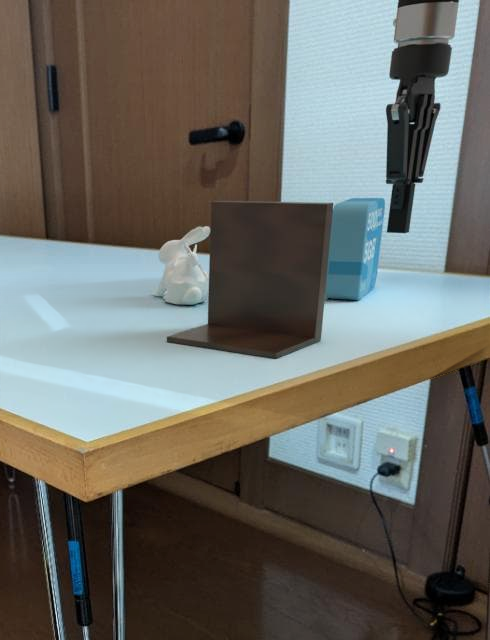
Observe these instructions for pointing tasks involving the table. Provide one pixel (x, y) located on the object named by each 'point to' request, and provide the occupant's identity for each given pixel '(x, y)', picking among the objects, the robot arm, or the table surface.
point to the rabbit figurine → (183, 270)
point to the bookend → (265, 277)
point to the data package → (354, 247)
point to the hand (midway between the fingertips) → (397, 232)
